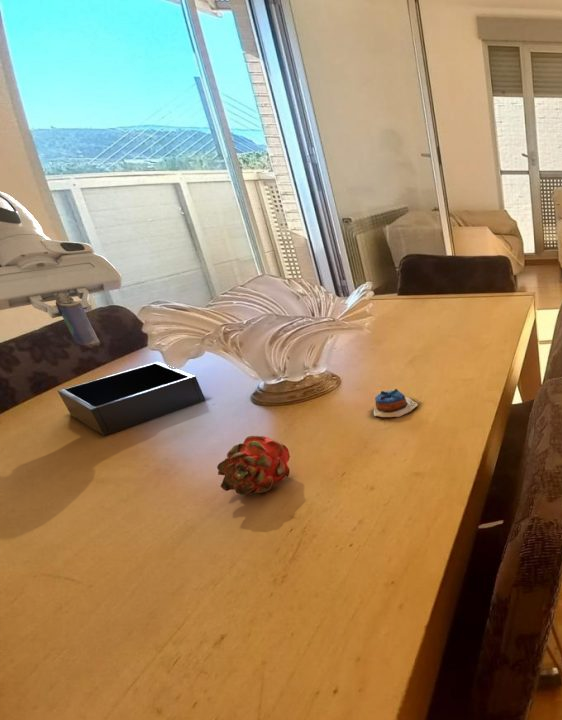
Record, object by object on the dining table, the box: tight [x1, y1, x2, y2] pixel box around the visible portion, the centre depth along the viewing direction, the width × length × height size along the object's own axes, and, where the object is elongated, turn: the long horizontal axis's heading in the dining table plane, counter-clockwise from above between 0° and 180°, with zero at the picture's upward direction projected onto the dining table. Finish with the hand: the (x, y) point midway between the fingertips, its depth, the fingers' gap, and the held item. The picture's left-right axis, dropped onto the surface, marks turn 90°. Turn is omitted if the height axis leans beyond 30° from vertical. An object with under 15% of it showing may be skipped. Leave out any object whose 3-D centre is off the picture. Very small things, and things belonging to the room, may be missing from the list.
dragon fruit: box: [216, 435, 291, 495], centre depth 71 cm, size 8×8×12 cm
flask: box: [54, 293, 101, 349], centre depth 96 cm, size 9×3×11 cm, turn 57°
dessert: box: [373, 388, 419, 418], centre depth 93 cm, size 8×7×6 cm
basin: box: [57, 361, 206, 437], centre depth 95 cm, size 16×18×6 cm
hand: (72, 312), depth 95 cm, fingers closed on flask, 3 cm apart
